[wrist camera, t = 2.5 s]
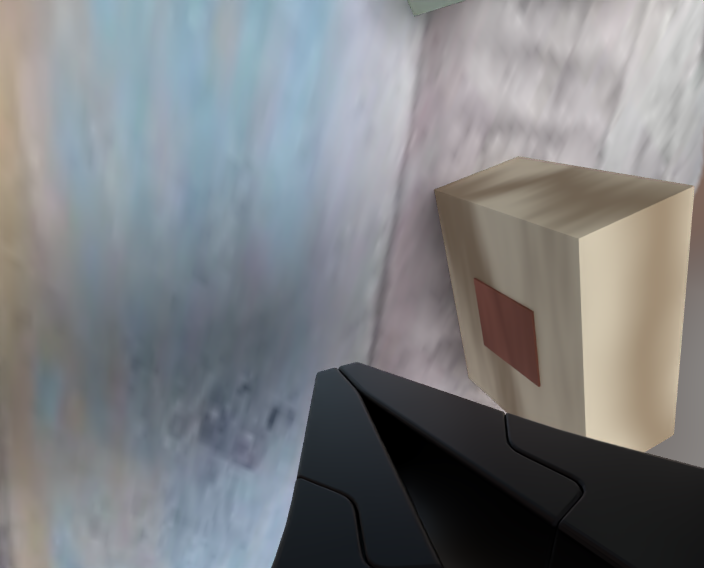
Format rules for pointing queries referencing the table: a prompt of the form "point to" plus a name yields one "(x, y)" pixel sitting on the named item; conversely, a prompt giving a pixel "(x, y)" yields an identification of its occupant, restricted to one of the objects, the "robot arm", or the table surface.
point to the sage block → (429, 5)
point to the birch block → (571, 294)
